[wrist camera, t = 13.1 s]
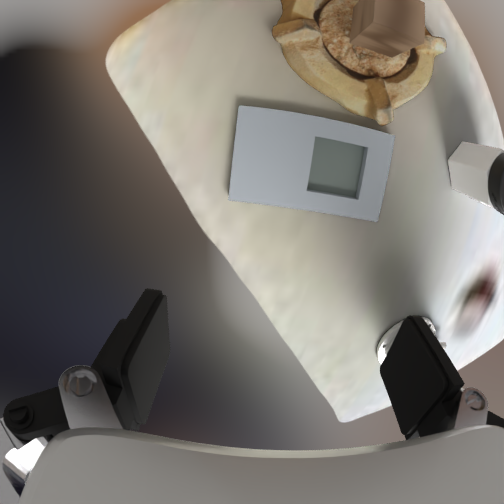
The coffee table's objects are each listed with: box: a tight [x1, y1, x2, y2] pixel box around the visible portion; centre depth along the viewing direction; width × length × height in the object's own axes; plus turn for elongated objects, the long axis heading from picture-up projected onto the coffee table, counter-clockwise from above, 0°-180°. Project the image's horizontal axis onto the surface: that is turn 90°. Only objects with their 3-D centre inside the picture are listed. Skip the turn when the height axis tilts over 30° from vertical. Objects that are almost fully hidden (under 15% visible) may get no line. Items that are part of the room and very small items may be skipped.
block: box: [349, 0, 425, 58], centre depth 19 cm, size 6×6×8 cm
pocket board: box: [228, 105, 395, 222], centre depth 34 cm, size 20×12×2 cm, turn 83°
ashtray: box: [272, 0, 446, 126], centre depth 25 cm, size 24×24×5 cm
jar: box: [448, 142, 504, 215], centre depth 27 cm, size 9×8×12 cm
